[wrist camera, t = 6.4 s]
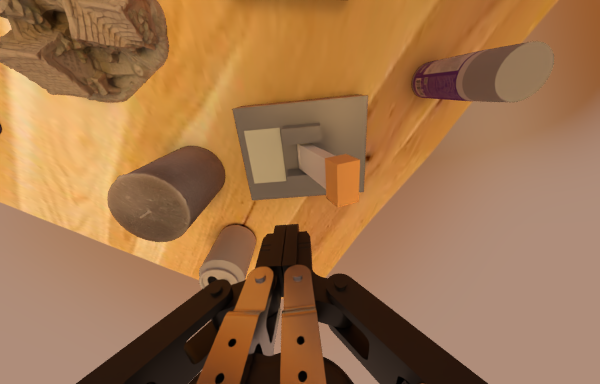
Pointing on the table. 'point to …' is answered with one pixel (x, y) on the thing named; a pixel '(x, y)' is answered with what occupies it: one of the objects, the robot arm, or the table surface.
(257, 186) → the box
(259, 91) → the table surface
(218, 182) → the pillar candle
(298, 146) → the breaker lever
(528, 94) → the container
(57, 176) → the table surface
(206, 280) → the can
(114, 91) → the ceramic cottage
